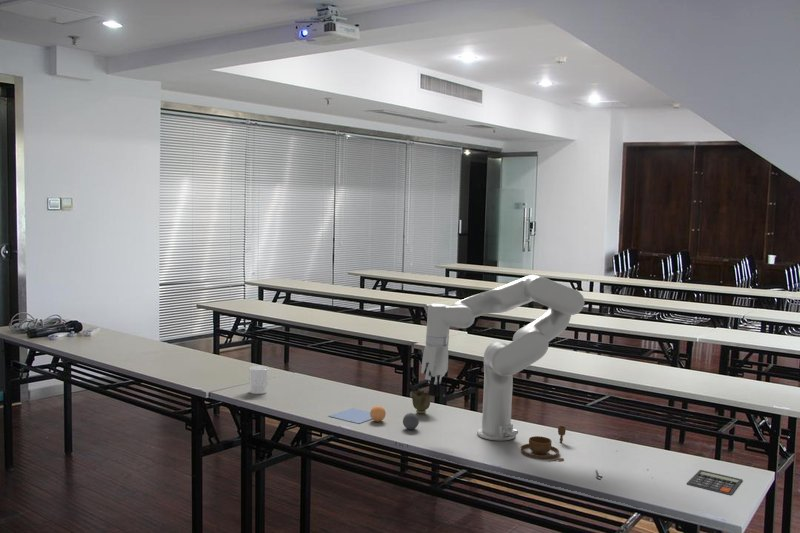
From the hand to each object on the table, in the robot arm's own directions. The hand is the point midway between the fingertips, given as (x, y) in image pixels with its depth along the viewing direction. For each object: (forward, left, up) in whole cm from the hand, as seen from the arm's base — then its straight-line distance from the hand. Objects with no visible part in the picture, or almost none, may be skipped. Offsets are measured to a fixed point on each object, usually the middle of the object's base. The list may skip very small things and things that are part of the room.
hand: (433, 395), depth 231 cm
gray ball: (+9, +2, -11) cm, 14 cm away
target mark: (+32, +9, -13) cm, 36 cm away
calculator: (-77, -39, -14) cm, 88 cm away
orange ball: (+22, +6, -11) cm, 25 cm away
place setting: (-33, -20, -14) cm, 42 cm away
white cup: (+81, +22, -14) cm, 85 cm away
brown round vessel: (+22, -14, -14) cm, 29 cm away
